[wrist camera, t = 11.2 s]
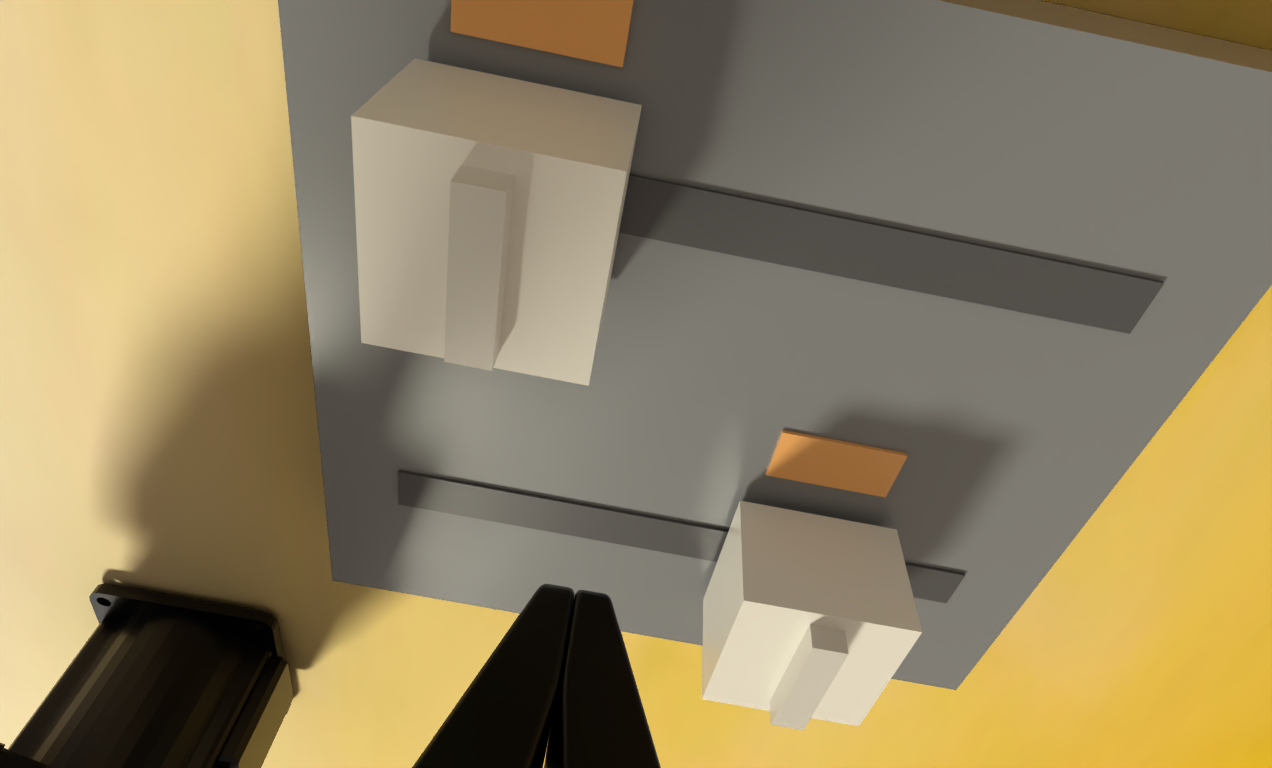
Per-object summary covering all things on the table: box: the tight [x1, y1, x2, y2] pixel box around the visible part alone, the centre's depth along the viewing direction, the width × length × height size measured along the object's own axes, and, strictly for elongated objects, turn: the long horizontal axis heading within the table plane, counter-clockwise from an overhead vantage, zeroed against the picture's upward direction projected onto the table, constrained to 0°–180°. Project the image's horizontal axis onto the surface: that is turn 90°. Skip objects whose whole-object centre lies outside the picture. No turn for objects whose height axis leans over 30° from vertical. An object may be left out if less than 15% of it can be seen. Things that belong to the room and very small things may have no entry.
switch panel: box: [278, 0, 1272, 690], centre depth 19 cm, size 19×18×3 cm
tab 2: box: [702, 501, 922, 730], centre depth 19 cm, size 4×4×4 cm
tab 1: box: [351, 58, 642, 386], centre depth 13 cm, size 4×4×4 cm
